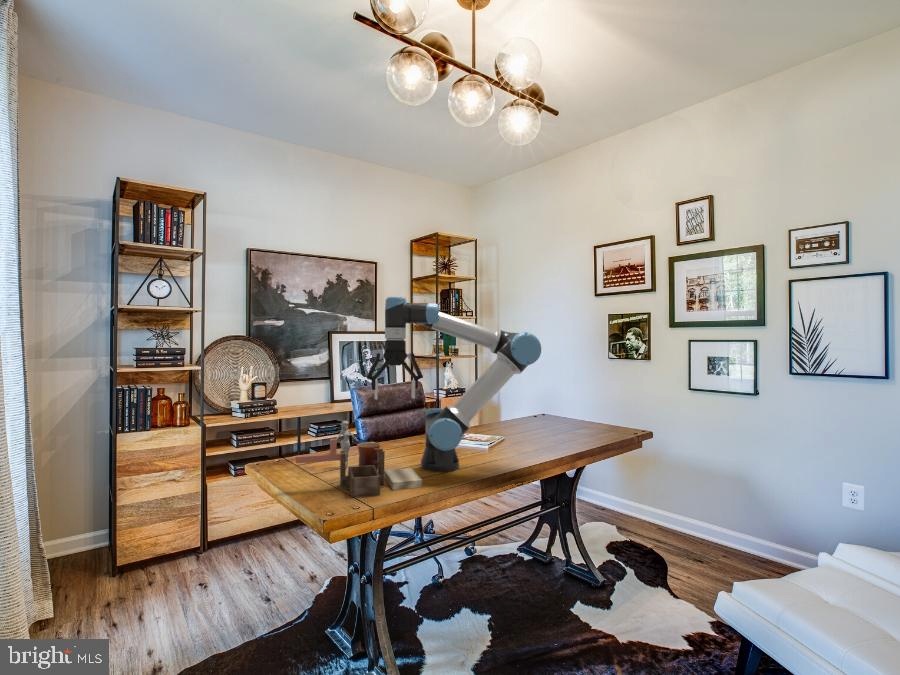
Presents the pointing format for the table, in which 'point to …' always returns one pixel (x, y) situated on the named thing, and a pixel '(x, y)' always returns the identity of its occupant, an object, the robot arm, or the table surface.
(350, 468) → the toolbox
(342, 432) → the human figurine
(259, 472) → the table surface
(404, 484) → the lid
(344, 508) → the table surface
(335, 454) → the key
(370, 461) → the mug
